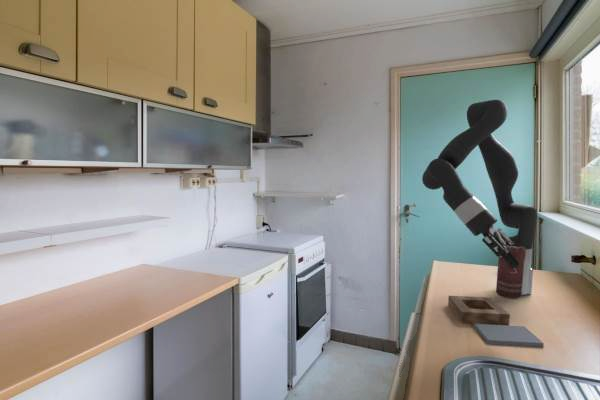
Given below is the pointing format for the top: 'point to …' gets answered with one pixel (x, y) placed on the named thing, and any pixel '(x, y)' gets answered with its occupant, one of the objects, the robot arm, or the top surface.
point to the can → (511, 274)
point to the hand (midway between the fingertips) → (518, 263)
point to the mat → (508, 335)
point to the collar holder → (478, 310)
